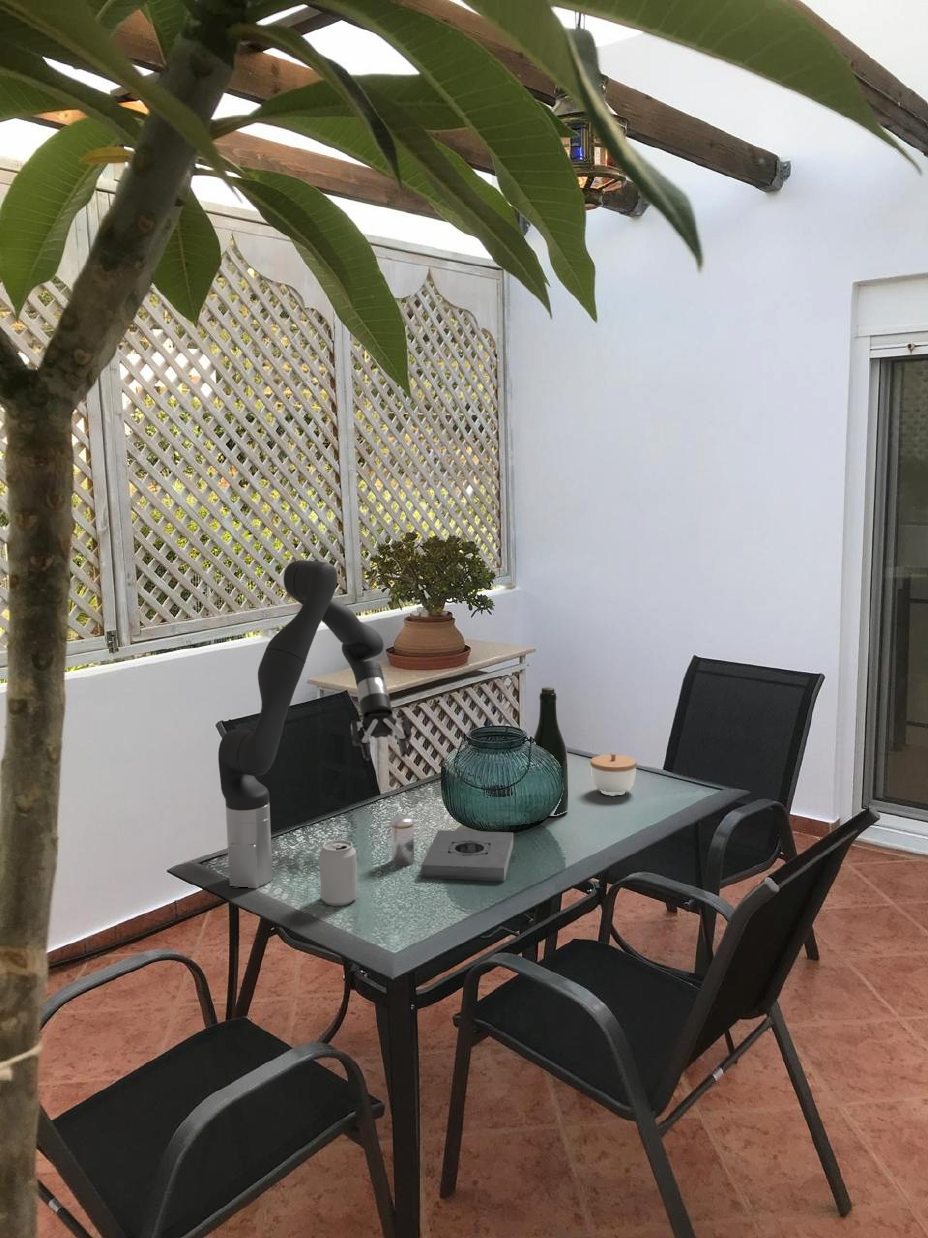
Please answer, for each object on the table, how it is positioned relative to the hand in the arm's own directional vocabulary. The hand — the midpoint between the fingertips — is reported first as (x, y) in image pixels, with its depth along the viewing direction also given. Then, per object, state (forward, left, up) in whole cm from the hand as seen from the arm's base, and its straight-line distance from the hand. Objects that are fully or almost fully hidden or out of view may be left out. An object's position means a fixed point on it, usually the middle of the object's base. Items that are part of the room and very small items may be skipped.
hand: (386, 757), depth 230 cm
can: (-33, +3, -21) cm, 40 cm away
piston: (-11, -6, -21) cm, 25 cm away
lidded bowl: (+45, -54, -21) cm, 73 cm away
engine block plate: (-9, -21, -21) cm, 31 cm away
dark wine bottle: (+27, -37, -21) cm, 50 cm away
